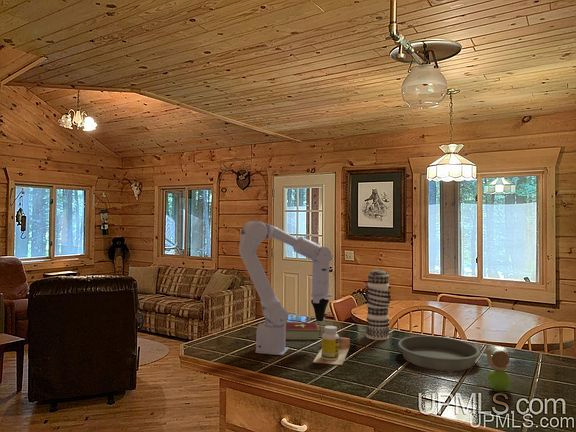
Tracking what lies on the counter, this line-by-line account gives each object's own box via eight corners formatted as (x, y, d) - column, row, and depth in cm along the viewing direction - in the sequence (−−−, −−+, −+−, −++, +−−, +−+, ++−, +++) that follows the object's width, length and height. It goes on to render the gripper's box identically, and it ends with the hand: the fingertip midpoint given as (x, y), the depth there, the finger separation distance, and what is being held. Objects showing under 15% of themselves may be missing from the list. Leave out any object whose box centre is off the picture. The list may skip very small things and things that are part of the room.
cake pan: (383, 359, 138) (383, 345, 138) (419, 344, 156) (419, 331, 156) (461, 380, 121) (461, 363, 121) (491, 360, 139) (491, 346, 139)
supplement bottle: (337, 361, 134) (338, 329, 134) (320, 360, 135) (320, 328, 135) (339, 356, 139) (339, 325, 139) (322, 354, 140) (322, 324, 140)
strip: (312, 362, 133) (313, 351, 133) (324, 344, 152) (324, 335, 152) (342, 365, 131) (342, 354, 131) (349, 346, 150) (350, 337, 150)
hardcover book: (263, 332, 170) (263, 321, 170) (316, 332, 171) (316, 321, 171) (262, 340, 158) (262, 329, 158) (319, 341, 159) (319, 329, 159)
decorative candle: (371, 332, 170) (372, 268, 171) (393, 336, 165) (394, 270, 165) (360, 337, 163) (361, 270, 163) (384, 341, 157) (384, 272, 158)
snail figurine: (480, 386, 115) (480, 341, 115) (503, 386, 116) (503, 341, 116) (491, 395, 110) (491, 347, 110) (515, 394, 110) (515, 347, 111)
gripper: (328, 284, 142) (327, 326, 141) (335, 279, 156) (334, 317, 155) (307, 283, 143) (306, 324, 143) (316, 278, 157) (315, 315, 157)
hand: (319, 320), depth 149 cm, fingers closed
